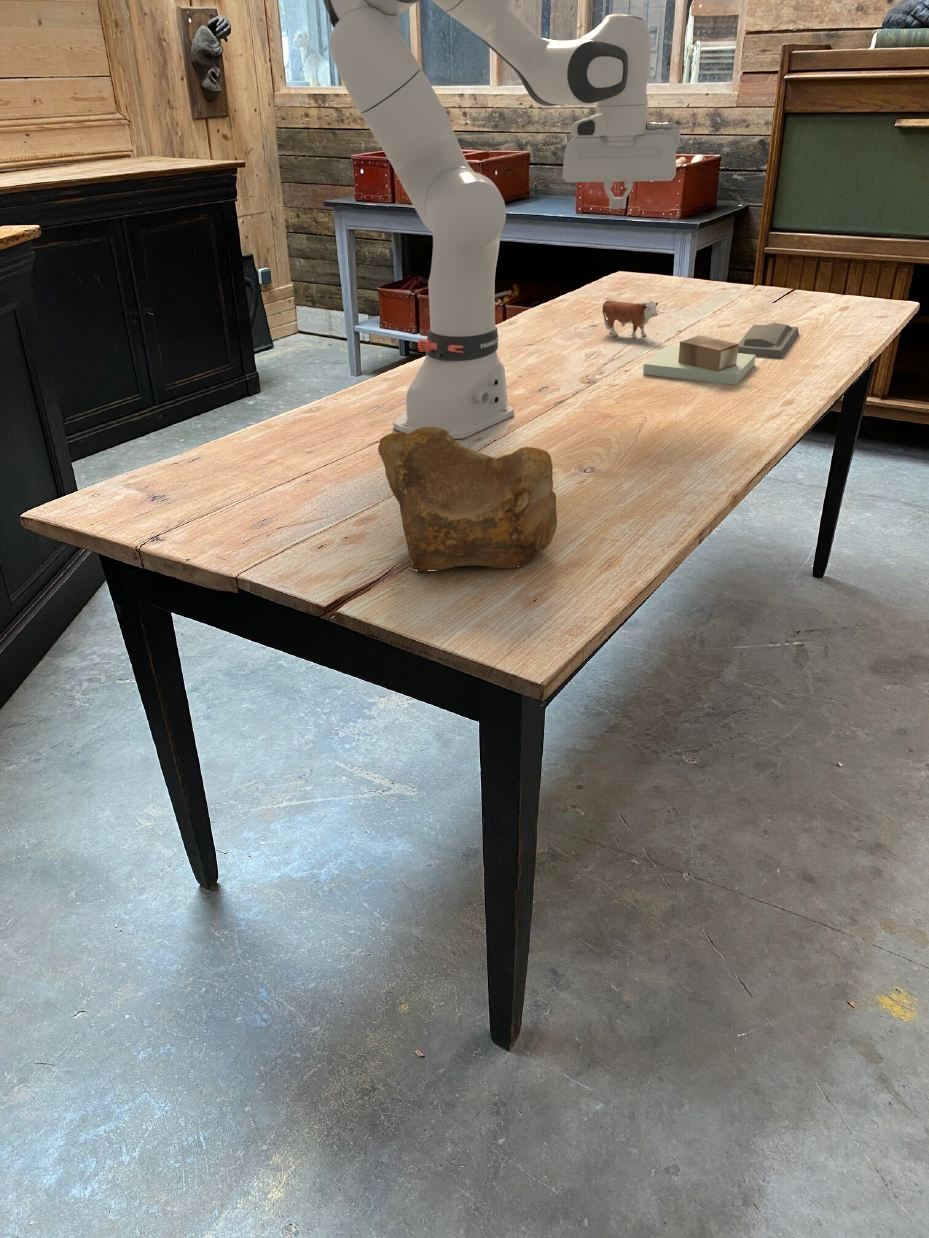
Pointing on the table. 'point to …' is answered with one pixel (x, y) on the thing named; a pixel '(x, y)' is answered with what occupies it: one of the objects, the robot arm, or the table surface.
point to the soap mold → (768, 340)
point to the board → (696, 368)
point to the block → (708, 353)
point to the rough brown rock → (469, 501)
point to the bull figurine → (628, 314)
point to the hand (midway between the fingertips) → (617, 208)
